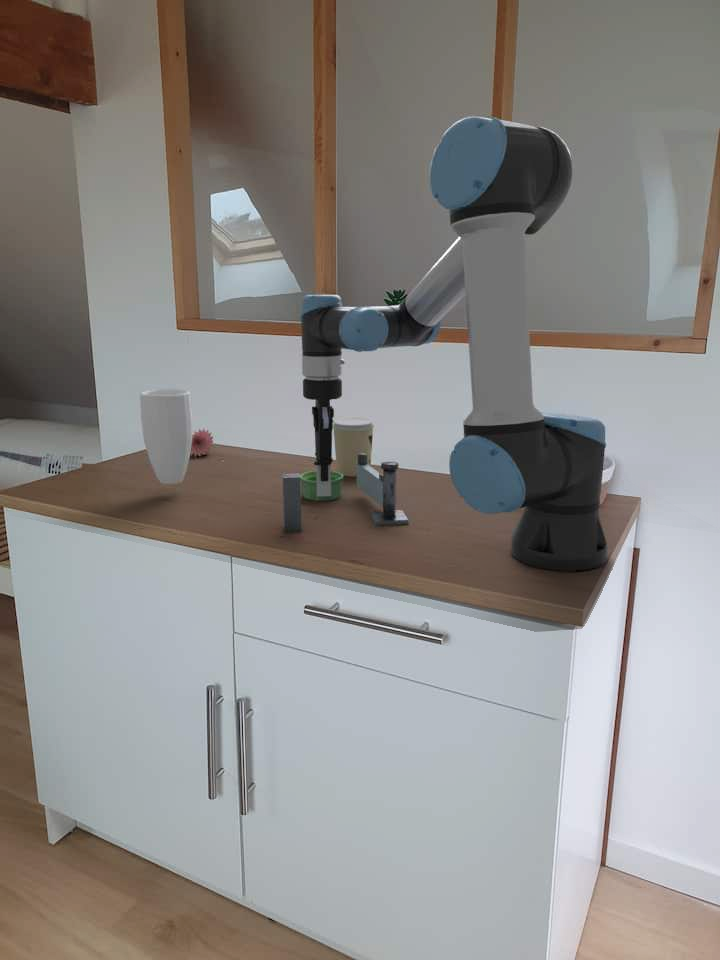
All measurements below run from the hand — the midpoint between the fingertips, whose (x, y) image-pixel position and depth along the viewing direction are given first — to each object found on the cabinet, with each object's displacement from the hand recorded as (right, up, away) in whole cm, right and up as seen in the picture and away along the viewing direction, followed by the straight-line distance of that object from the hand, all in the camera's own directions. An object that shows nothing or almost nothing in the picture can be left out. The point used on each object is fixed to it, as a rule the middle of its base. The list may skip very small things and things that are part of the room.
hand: (323, 495), depth 149 cm
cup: (-32, 0, +7) cm, 33 cm away
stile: (-5, -6, -15) cm, 17 cm away
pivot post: (+13, -4, -10) cm, 17 cm away
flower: (-33, +9, +42) cm, 54 cm away
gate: (+10, 0, -1) cm, 10 cm away
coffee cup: (+6, +5, +24) cm, 26 cm away
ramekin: (-1, -1, +5) cm, 6 cm away
